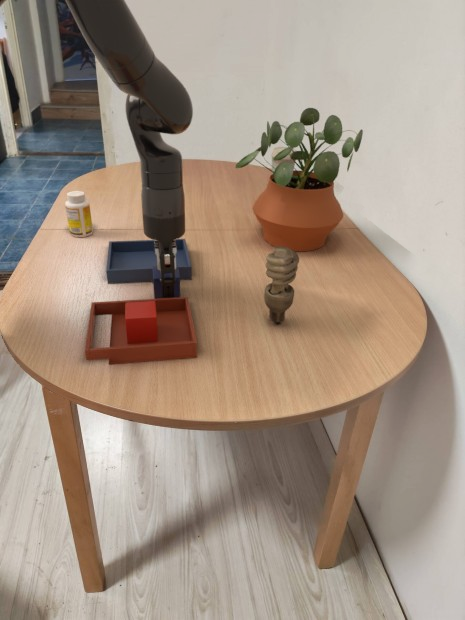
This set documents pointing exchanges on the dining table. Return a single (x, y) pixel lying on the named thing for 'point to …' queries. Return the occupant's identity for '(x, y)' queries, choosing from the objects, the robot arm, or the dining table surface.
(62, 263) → the dining table surface
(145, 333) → the red block
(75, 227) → the supplement bottle
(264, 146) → the potted plant
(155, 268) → the blue block
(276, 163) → the coffee cup
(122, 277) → the back tray
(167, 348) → the front tray
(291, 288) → the light bulb
